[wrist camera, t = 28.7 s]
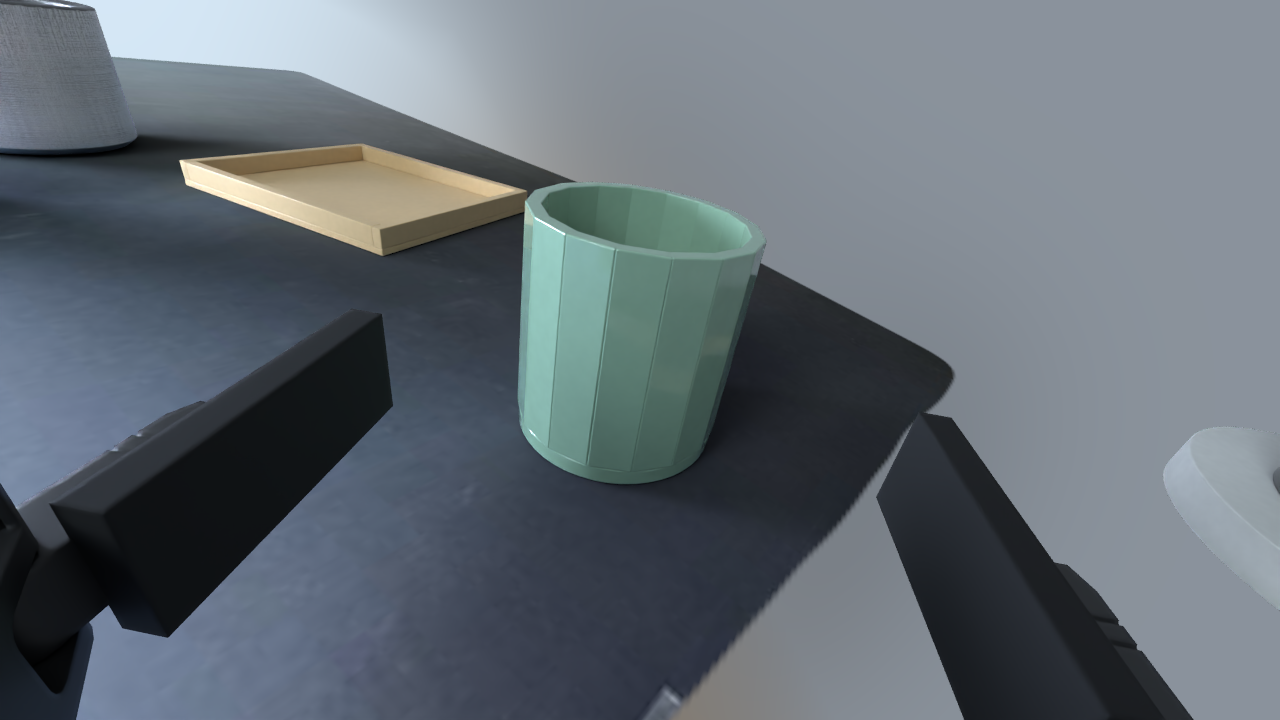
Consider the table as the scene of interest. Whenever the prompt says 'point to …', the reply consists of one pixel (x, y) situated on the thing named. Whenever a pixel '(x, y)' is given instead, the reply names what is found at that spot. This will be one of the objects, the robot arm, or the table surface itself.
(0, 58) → the planter
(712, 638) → the table surface
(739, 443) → the table surface
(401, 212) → the tray
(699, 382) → the cup
